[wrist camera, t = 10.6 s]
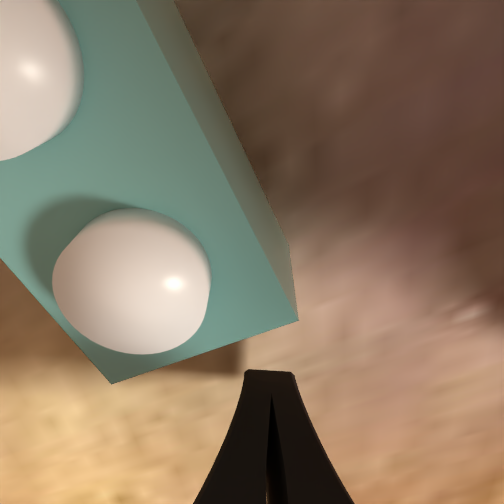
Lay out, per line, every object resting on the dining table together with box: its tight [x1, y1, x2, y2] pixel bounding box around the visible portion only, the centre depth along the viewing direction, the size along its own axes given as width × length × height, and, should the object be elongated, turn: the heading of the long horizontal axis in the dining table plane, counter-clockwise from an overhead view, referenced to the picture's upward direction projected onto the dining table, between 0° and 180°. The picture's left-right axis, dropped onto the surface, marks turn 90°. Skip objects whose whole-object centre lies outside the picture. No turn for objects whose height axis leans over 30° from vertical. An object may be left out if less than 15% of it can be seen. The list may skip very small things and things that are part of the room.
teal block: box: [0, 0, 299, 384], centre depth 8 cm, size 8×4×4 cm, turn 25°
